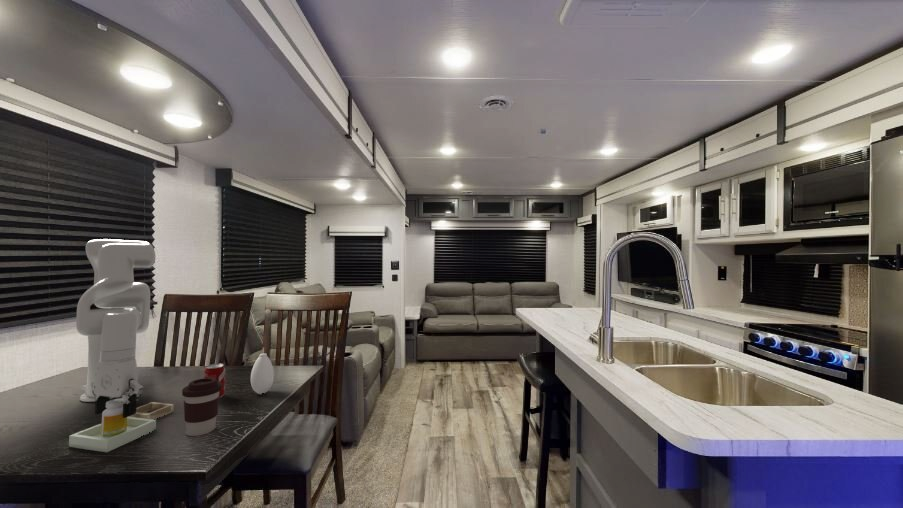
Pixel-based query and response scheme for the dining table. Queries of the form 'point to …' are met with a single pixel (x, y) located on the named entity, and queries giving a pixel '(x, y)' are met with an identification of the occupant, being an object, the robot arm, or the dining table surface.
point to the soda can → (216, 375)
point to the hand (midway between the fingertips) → (115, 414)
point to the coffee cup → (201, 405)
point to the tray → (94, 441)
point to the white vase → (262, 374)
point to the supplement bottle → (113, 419)
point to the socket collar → (157, 409)
